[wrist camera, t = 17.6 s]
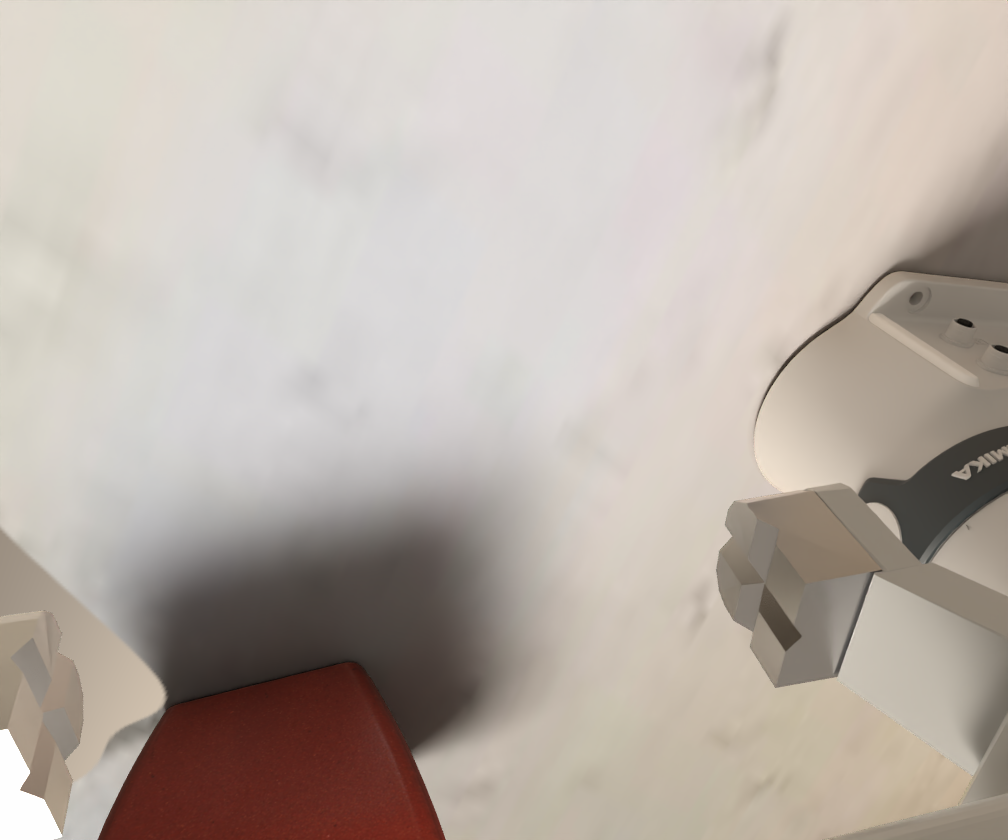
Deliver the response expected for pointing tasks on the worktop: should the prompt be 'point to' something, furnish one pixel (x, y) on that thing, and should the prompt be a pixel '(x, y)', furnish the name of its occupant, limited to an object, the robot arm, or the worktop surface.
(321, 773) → the plant pot
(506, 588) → the worktop surface
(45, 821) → the robot arm
